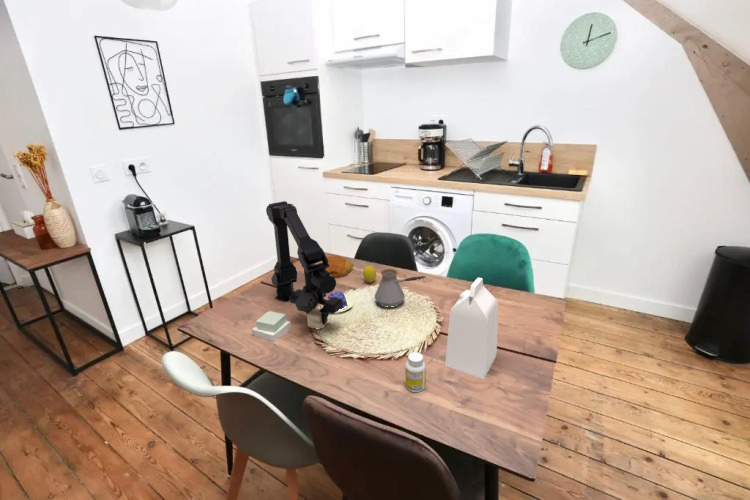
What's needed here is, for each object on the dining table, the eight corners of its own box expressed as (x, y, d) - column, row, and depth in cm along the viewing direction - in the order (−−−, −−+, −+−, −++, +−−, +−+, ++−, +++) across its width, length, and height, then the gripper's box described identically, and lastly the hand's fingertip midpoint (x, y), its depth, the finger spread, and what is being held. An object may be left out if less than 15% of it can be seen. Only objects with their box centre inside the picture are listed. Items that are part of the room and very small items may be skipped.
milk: (484, 379, 106) (491, 296, 97) (445, 365, 112) (448, 286, 102) (496, 355, 115) (504, 277, 106) (459, 344, 121) (464, 269, 112)
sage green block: (269, 318, 135) (268, 311, 134) (286, 321, 132) (285, 314, 131) (257, 329, 129) (256, 321, 128) (275, 332, 126) (273, 324, 125)
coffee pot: (368, 304, 146) (367, 269, 141) (385, 292, 155) (385, 258, 150) (417, 321, 135) (417, 283, 129) (433, 307, 143) (434, 270, 138)
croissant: (323, 269, 184) (320, 254, 181) (355, 266, 181) (352, 250, 179) (316, 282, 170) (312, 266, 168) (350, 278, 168) (346, 262, 165)
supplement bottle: (417, 395, 101) (418, 366, 97) (401, 387, 104) (401, 357, 101) (428, 384, 105) (429, 355, 101) (412, 376, 108) (413, 348, 104)
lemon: (378, 280, 166) (377, 263, 163) (374, 286, 161) (373, 268, 158) (366, 279, 168) (365, 262, 165) (361, 284, 163) (360, 267, 160)
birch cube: (316, 319, 137) (315, 307, 135) (328, 322, 135) (326, 310, 133) (308, 326, 133) (306, 314, 131) (319, 330, 131) (318, 317, 129)
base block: (271, 323, 137) (270, 316, 136) (291, 329, 133) (290, 321, 132) (253, 336, 130) (252, 329, 129) (273, 343, 126) (272, 335, 125)
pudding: (315, 307, 147) (314, 295, 145) (340, 296, 154) (339, 284, 152) (334, 318, 138) (333, 306, 136) (359, 306, 146) (358, 294, 144)
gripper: (276, 287, 125) (281, 327, 131) (323, 298, 117) (327, 341, 123) (297, 273, 135) (301, 312, 140) (342, 283, 127) (345, 323, 132)
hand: (317, 322), depth 134 cm, fingers closed on birch cube, 5 cm apart
